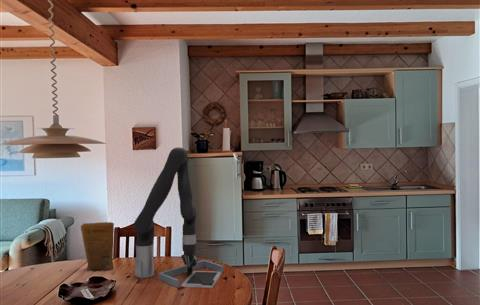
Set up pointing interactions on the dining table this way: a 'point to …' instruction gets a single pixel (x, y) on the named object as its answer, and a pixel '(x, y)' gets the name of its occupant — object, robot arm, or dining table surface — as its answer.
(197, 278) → the picture frame
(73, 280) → the dining table surface
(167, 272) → the open-front box
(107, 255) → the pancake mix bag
